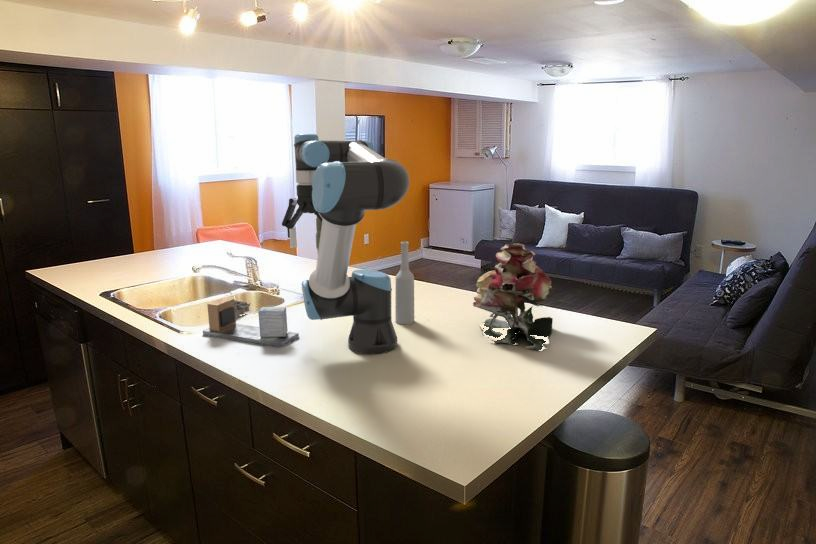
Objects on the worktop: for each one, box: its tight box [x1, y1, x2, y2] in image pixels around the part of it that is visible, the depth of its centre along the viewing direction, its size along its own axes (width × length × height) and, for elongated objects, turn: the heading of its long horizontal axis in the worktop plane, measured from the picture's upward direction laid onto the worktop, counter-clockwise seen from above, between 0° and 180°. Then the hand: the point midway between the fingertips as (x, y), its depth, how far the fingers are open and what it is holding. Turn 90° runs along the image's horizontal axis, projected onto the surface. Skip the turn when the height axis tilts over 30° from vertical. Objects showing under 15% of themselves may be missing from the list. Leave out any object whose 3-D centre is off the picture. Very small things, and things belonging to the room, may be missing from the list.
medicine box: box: [257, 306, 289, 337], centre depth 176 cm, size 8×4×9 cm, turn 91°
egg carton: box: [234, 299, 251, 318], centre depth 205 cm, size 11×8×4 cm
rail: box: [202, 297, 300, 349], centre depth 180 cm, size 30×10×10 cm, turn 67°
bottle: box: [394, 241, 415, 325], centre depth 192 cm, size 7×7×28 cm
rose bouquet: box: [472, 242, 555, 351], centre depth 180 cm, size 26×29×30 cm
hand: (311, 249), depth 184 cm, fingers open, 13 cm apart
